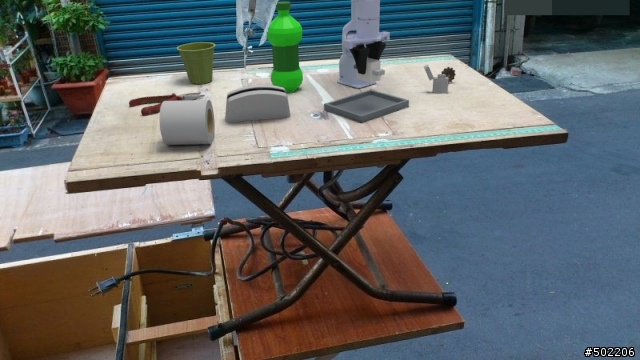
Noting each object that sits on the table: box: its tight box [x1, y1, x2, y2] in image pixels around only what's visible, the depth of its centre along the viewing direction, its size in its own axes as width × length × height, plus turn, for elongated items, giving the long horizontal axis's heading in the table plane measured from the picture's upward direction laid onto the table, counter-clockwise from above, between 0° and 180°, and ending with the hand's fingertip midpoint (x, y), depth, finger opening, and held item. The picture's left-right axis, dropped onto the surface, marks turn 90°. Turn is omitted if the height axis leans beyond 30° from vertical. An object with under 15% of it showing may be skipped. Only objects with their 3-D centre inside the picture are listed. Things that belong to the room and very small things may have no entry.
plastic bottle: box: [266, 0, 304, 93], centre depth 155 cm, size 10×10×25 cm
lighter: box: [423, 64, 449, 94], centre depth 153 cm, size 7×2×8 cm, turn 85°
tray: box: [323, 89, 410, 124], centre depth 143 cm, size 14×18×2 cm
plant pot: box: [176, 41, 216, 85], centre depth 168 cm, size 12×12×11 cm
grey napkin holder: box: [224, 84, 291, 123], centre depth 137 cm, size 17×5×10 cm, turn 102°
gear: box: [440, 66, 457, 84], centre depth 161 cm, size 5×1×5 cm, turn 108°
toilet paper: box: [159, 99, 216, 146], centre depth 122 cm, size 10×10×10 cm
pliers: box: [128, 91, 206, 117], centre depth 151 cm, size 12×20×3 cm, turn 127°
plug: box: [354, 58, 386, 83], centre depth 138 cm, size 9×4×5 cm, turn 41°
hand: (367, 72), depth 139 cm, fingers closed on plug, 3 cm apart
